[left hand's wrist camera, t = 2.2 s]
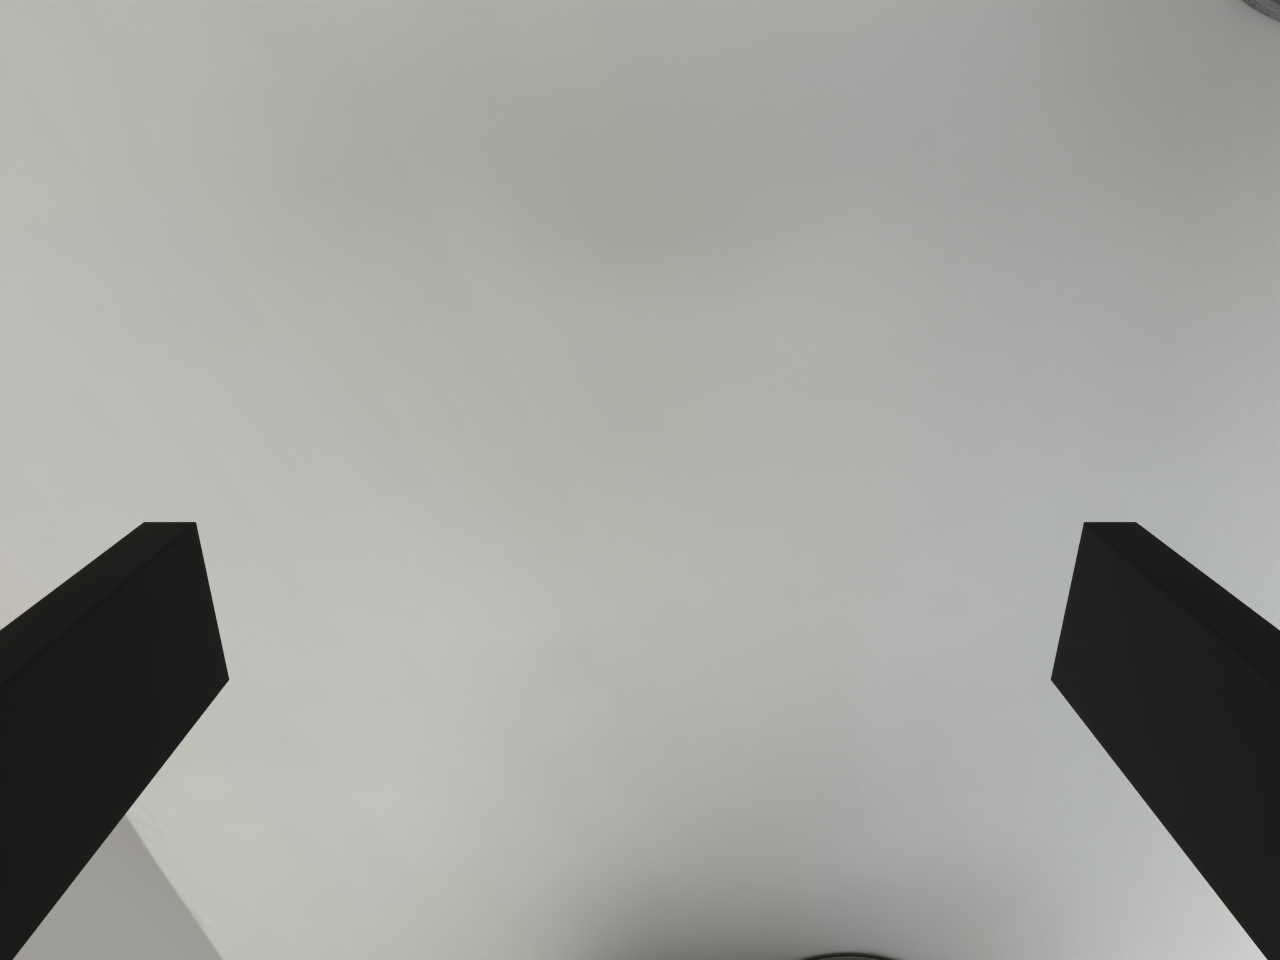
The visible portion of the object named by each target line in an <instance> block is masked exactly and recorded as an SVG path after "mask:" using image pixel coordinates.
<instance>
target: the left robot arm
mask: <svg viewBox="0 0 1280 960" xmlns="http://www.w3.org/2000/svg"><path fill="white" fill-rule="evenodd" d="M228 681H229V676H228V672H227V667H226V662H225V658H224V653H223V648H222V643H221V639H220V634H219V629H218V624H217V620H216V615H215V610H214V605H213V601H212V596H211V591H210V587H209V582H208V577H207V572H206V568H205V563H204V558H203V553H202V549H201V544H200V539H199V535H198V530H197V525H196V522H144V523H142V524H141V525H140V526H138V527H137V528H136V529H134V530H133V531H132V532H130V533H129V534H128V535H126V536H125V537H124V538H122V539H121V540H120V541H118V542H117V543H116V544H114V545H113V546H112V547H110V548H109V549H108V550H107V551H105V552H104V553H103V554H101V555H100V556H99V557H97V558H96V559H95V560H93V561H92V562H91V563H89V564H88V565H87V566H85V567H84V568H83V569H81V570H80V571H79V572H77V573H76V574H75V575H73V576H72V577H71V578H69V579H68V580H67V581H65V582H64V583H63V584H61V585H60V586H59V587H57V588H56V589H55V590H53V591H52V592H51V593H49V594H48V595H47V596H45V597H44V598H43V599H41V600H40V601H39V602H37V603H36V604H35V605H33V606H32V607H31V608H29V609H28V610H27V611H26V612H24V613H23V614H22V615H20V616H19V617H18V618H16V619H15V620H14V621H12V622H11V623H10V624H8V625H7V626H6V627H4V628H3V629H2V630H0V960H13V958H14V957H15V956H16V954H17V953H18V952H19V951H20V949H21V948H22V947H23V945H24V944H25V943H26V942H27V940H28V939H29V938H30V936H31V935H32V934H33V932H34V931H35V930H36V929H37V927H38V926H39V925H40V924H41V922H42V921H43V920H44V918H45V917H46V916H47V914H48V913H49V912H50V911H51V909H52V908H53V907H54V905H55V904H56V903H57V902H58V900H59V899H60V898H61V896H62V895H63V894H64V892H65V891H66V890H67V889H68V887H69V886H70V885H71V883H72V882H73V881H74V880H75V878H76V877H77V876H78V874H79V873H80V872H81V870H82V869H83V868H84V867H85V865H86V864H87V863H88V861H89V860H90V859H91V858H92V856H93V855H94V854H95V852H96V851H97V850H98V848H99V847H100V846H101V845H102V843H103V842H104V841H105V840H106V838H107V837H108V836H109V834H110V833H111V832H112V830H113V829H114V828H115V827H116V825H117V824H118V823H119V821H120V820H121V819H122V818H123V816H124V815H125V814H126V812H127V811H128V810H129V808H130V807H131V806H132V805H133V803H134V802H135V801H136V799H137V798H138V797H139V796H140V794H141V793H142V792H143V790H144V789H145V788H146V787H147V785H148V784H149V783H150V781H151V780H152V779H153V777H154V776H155V775H156V774H157V772H158V771H159V770H160V768H161V767H162V766H163V765H164V763H165V762H166V761H167V759H168V758H169V757H170V756H171V754H172V753H173V752H174V750H175V749H176V748H177V746H178V745H179V744H180V743H181V741H182V740H183V739H184V737H185V736H186V735H187V734H188V732H189V731H190V730H191V728H192V727H193V726H194V724H195V723H196V722H197V721H198V719H199V718H200V717H201V715H202V714H203V713H204V712H205V710H206V709H207V708H208V706H209V705H210V704H211V703H212V701H213V700H214V699H215V697H216V696H217V695H218V693H219V692H220V691H221V690H222V688H223V687H224V686H225V684H226V683H227V682H228ZM1051 681H1052V682H1053V683H1054V684H1055V686H1056V687H1057V688H1058V690H1059V691H1060V692H1061V693H1062V695H1063V696H1064V697H1065V699H1066V700H1067V701H1068V703H1069V704H1070V705H1071V706H1072V708H1073V709H1074V710H1075V712H1076V713H1077V714H1078V715H1079V717H1080V718H1081V719H1082V721H1083V722H1084V723H1085V724H1086V726H1087V727H1088V728H1089V730H1090V731H1091V732H1092V734H1093V735H1094V736H1095V737H1096V739H1097V740H1098V741H1099V743H1100V744H1101V745H1102V746H1103V748H1104V749H1105V750H1106V752H1107V753H1108V754H1109V756H1110V757H1111V758H1112V759H1113V761H1114V762H1115V763H1116V765H1117V766H1118V767H1119V768H1120V770H1121V771H1122V772H1123V774H1124V775H1125V776H1126V777H1127V779H1128V780H1129V781H1130V783H1131V784H1132V785H1133V787H1134V788H1135V789H1136V790H1137V792H1138V793H1139V794H1140V796H1141V797H1142V798H1143V799H1144V801H1145V802H1146V803H1147V805H1148V806H1149V807H1150V808H1151V810H1152V811H1153V812H1154V814H1155V815H1156V816H1157V818H1158V819H1159V820H1160V821H1161V823H1162V824H1163V825H1164V827H1165V828H1166V829H1167V830H1168V832H1169V833H1170V834H1171V836H1172V837H1173V838H1174V840H1175V841H1176V842H1177V843H1178V845H1179V846H1180V847H1181V849H1182V850H1183V851H1184V852H1185V854H1186V855H1187V856H1188V858H1189V859H1190V860H1191V861H1192V863H1193V864H1194V865H1195V867H1196V868H1197V869H1198V871H1199V872H1200V873H1201V874H1202V876H1203V877H1204V878H1205V880H1206V881H1207V882H1208V883H1209V885H1210V886H1211V887H1212V889H1213V890H1214V891H1215V892H1216V894H1217V895H1218V896H1219V898H1220V899H1221V900H1222V902H1223V903H1224V904H1225V905H1226V907H1227V908H1228V909H1229V911H1230V912H1231V913H1232V914H1233V916H1234V917H1235V918H1236V920H1237V921H1238V922H1239V924H1240V925H1241V926H1242V927H1243V929H1244V930H1245V931H1246V933H1247V934H1248V935H1249V936H1250V938H1251V939H1252V940H1253V942H1254V943H1255V944H1256V945H1257V947H1258V948H1259V949H1260V951H1261V952H1262V953H1263V955H1264V956H1265V957H1266V958H1267V960H1280V630H1278V629H1277V628H1276V627H1274V626H1273V625H1272V624H1270V623H1269V622H1268V621H1266V620H1265V619H1264V618H1262V617H1261V616H1260V615H1258V614H1257V613H1256V612H1254V611H1253V610H1252V609H1251V608H1249V607H1248V606H1247V605H1245V604H1244V603H1243V602H1241V601H1240V600H1239V599H1237V598H1236V597H1235V596H1233V595H1232V594H1231V593H1229V592H1228V591H1227V590H1225V589H1224V588H1223V587H1221V586H1220V585H1219V584H1217V583H1216V582H1215V581H1213V580H1212V579H1211V578H1209V577H1208V576H1207V575H1205V574H1204V573H1203V572H1201V571H1200V570H1199V569H1197V568H1196V567H1195V566H1193V565H1192V564H1191V563H1189V562H1188V561H1187V560H1185V559H1184V558H1183V557H1181V556H1180V555H1179V554H1177V553H1176V552H1175V551H1173V550H1172V549H1171V548H1170V547H1168V546H1167V545H1166V544H1164V543H1163V542H1162V541H1160V540H1159V539H1158V538H1156V537H1155V536H1154V535H1152V534H1151V533H1150V532H1148V531H1147V530H1146V529H1144V528H1143V527H1142V526H1140V525H1139V524H1138V523H1136V522H1084V525H1083V530H1082V535H1081V539H1080V544H1079V549H1078V553H1077V558H1076V563H1075V568H1074V572H1073V577H1072V582H1071V587H1070V591H1069V596H1068V601H1067V605H1066V610H1065V615H1064V620H1063V624H1062V629H1061V634H1060V639H1059V643H1058V648H1057V653H1056V658H1055V662H1054V667H1053V672H1052V676H1051ZM817 960H880V959H875V958H868V957H855V956H843V957H830V958H822V959H817Z"/></svg>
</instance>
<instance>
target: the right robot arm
mask: <svg viewBox="0 0 1280 960" xmlns="http://www.w3.org/2000/svg"><path fill="white" fill-rule="evenodd" d="M1245 1H1246V2H1247V3H1249V4H1250V5H1251V6H1252V7H1254V8H1256V9H1257V10H1259V11H1261V12H1262V13H1264V14H1266V15H1267V16H1270V17H1272V18H1274V19H1277V20H1279V21H1280V0H1245Z"/></svg>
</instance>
